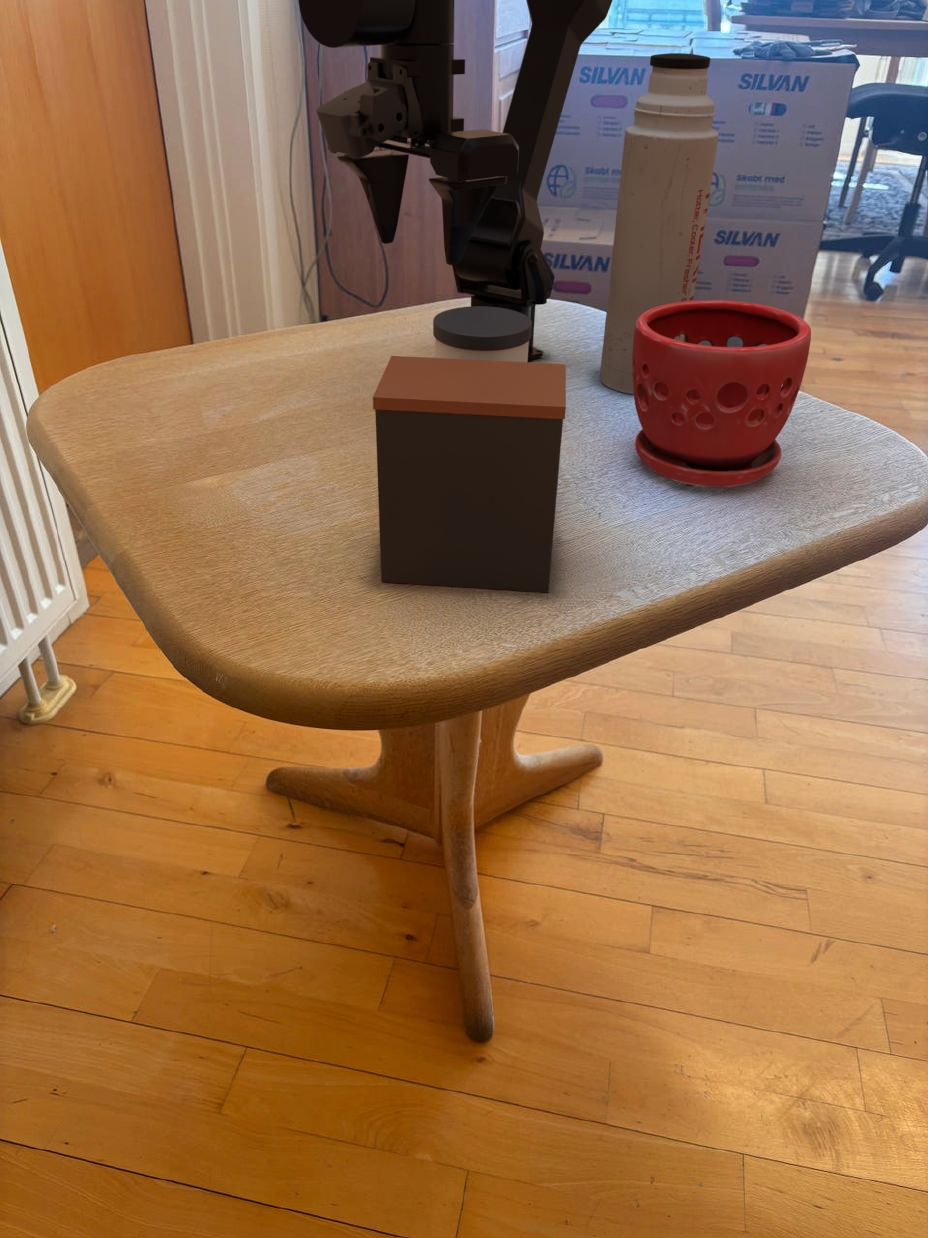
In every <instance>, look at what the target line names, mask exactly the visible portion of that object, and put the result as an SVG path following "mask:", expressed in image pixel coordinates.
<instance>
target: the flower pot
mask: <svg viewBox="0 0 928 1238" xmlns="http://www.w3.org/2000/svg"><path fill="white" fill-rule="evenodd" d="M680 334H684V335H685V338H686V340H685V342H681V341H677V340H674V339H675V337H676V336H678V335H680ZM733 337H735V338H739V339H740V340H741V341H742V346H741V347H739V346H738V347H737V346H736V347H733V346H728V341H729V339H731V338H733ZM811 341H812V329H811V326H810V325H809V323H808V322H807V321H806V320H804V318H802V317H801V316H798V315H796V314H794V313H791V312H789V311H786V310H783V309H781V308H777V307H773V306H769V305H765V304H760V303H754V302H745V301H737V300H735V301H734V300H693V301H685V302H677V303H671V304H666V305H661V306H658V307H655V308H652V309H650V310H648V311H646V312H644V313H642V314H641V315H640V316H639V317H638V319H637V321H636V324H635V330H634V339H633V352H632V376H633V394H632V395H633V401H634V405H635V410H636V415H637V418H638V421H639V424H640V426H641V429H640V431H638V433H637V435H636V437H635V440H634V443H635V444H634V446H635V450H636V454H637V455H638V457H639V459H640V461H642V462H643V463H644V465H645V466H646V467H647V468H648V469H650V470H651V471H652V472H654V473H656V474H658V475H659V476H661V477H663V478H666V479H669V480H672V481H675V482H678V483H681V484H684V485H686V486H687V487H691V488H694V487H705V488H730V487H738V486H743V485H748V484H750V483H755V482H756V481H758V480H760V479H762V478H764V477H766V476H767V475H769V474H771V472H772V471H773V470H774V469H775V468H776V467H777V466H778V465H779V463H780V461H781V458H782V448H781V445H780V444H779V442H778V441H777V440H776V439H777V438H778V436H779V434H781V432H782V430H783V428H784V427H785V425H786V424H787V422H788V420H789V417H790V415H791V413H792V411H793V409H794V405H795V403H796V399H797V397H798V394H799V391H800V389H801V386H802V382H803V379H804V375H805V371H806V369H807V368H806V367H807V363H808V360H809V359H808V358H809V355H810V347H811ZM701 342H709V343H710V345H704V344H700V343H701Z"/></svg>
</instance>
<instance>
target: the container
mask: <svg viewBox="0 0 928 1238" xmlns="http://www.w3.org/2000/svg"><path fill="white" fill-rule="evenodd" d="M432 322H433V323H432V327H433V328H432V335H433V337H434V340H435V345H434V346H435V349H434V355H435V357H434V358H449V359H469V360H490V361H510V362H528V361H529V360H528V345H529V340H530V338H531V331H532V321H531V319H530V318H529V317H527V316H526V315H524V314H522V313H519V312H517V311H513V310H509V309H504V308H498V307H486V306H471V305H470V306H463V307H455V308H449V309H447V310H444V311H441V312H439V313H437V314H436V315H435V316H434V317H433V320H432Z"/></svg>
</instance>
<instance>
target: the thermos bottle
mask: <svg viewBox="0 0 928 1238" xmlns="http://www.w3.org/2000/svg"><path fill="white" fill-rule="evenodd" d="M710 64H711V57H710V56H706V55H701V54H694V53H685V52H683V53H681V52H669V53H659V54H652V55H651V56H650V60H649V65H650V67H652V68H651V69H652V70H651V73H650V74H649V79H648V88H647V91H646V93H644V94H643V95H641V96H640V97H638V98H637V99H636V101H635V102H636V104H635V106H634V108H633V111H634V112H633V116H634V119H633V120H634V122H633V124H632V125H630V126H628V127H626V128H625V130H624V138H623V149H622V157H621V158H622V159H621V168H620V178H619V187H618V196H617V197H618V198H617V204H616V205H617V206H616V216H615V226H614V233H613V234H614V235H613V245H612V255H611V265H610V280H609V292H608V301H607V307H606V314H605V322H604V332H603V341H602V351H601V361H600V371H599V379H600V382H601V383H602V384H603V385H604V386H605V387H607V388H609V389H611V390H614V391H616V392H620V393H623V394H624V393H625V394H629V395H633V376H632V352H633V339H634V330H635V324H636V321H637V319H638V317H639V316H640V315H641V314H642V313H644V312H646V311H648V310H650V309H652V308H655V307H658V306H661V305H666V304H671V303H677V302H685V301H694V298H695V291H696V285H697V279H698V271H699V264H700V260H701V259H700V258H701V253H702V246H703V241H704V240H703V239H704V234H705V233H704V232H705V227H706V222H707V221H706V220H707V213H708V207H709V200H710V194H711V189H712V188H711V187H712V181H713V174H714V169H715V162H716V155H717V148H718V143H719V136H720V133H719V132H718V131H717V130H716V129H714V128H713V122H714V121H713V119H714V117H716V112H715V107H716V103H715V101H714V100H713V99H712V98H710V96H708V93H707V89H708V84H709V75H708V69H709V68H710ZM674 340H677V341H681V342H685V340H686V338H685V335H684V334H680V335H678V336H676V337H675V339H674Z"/></svg>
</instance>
